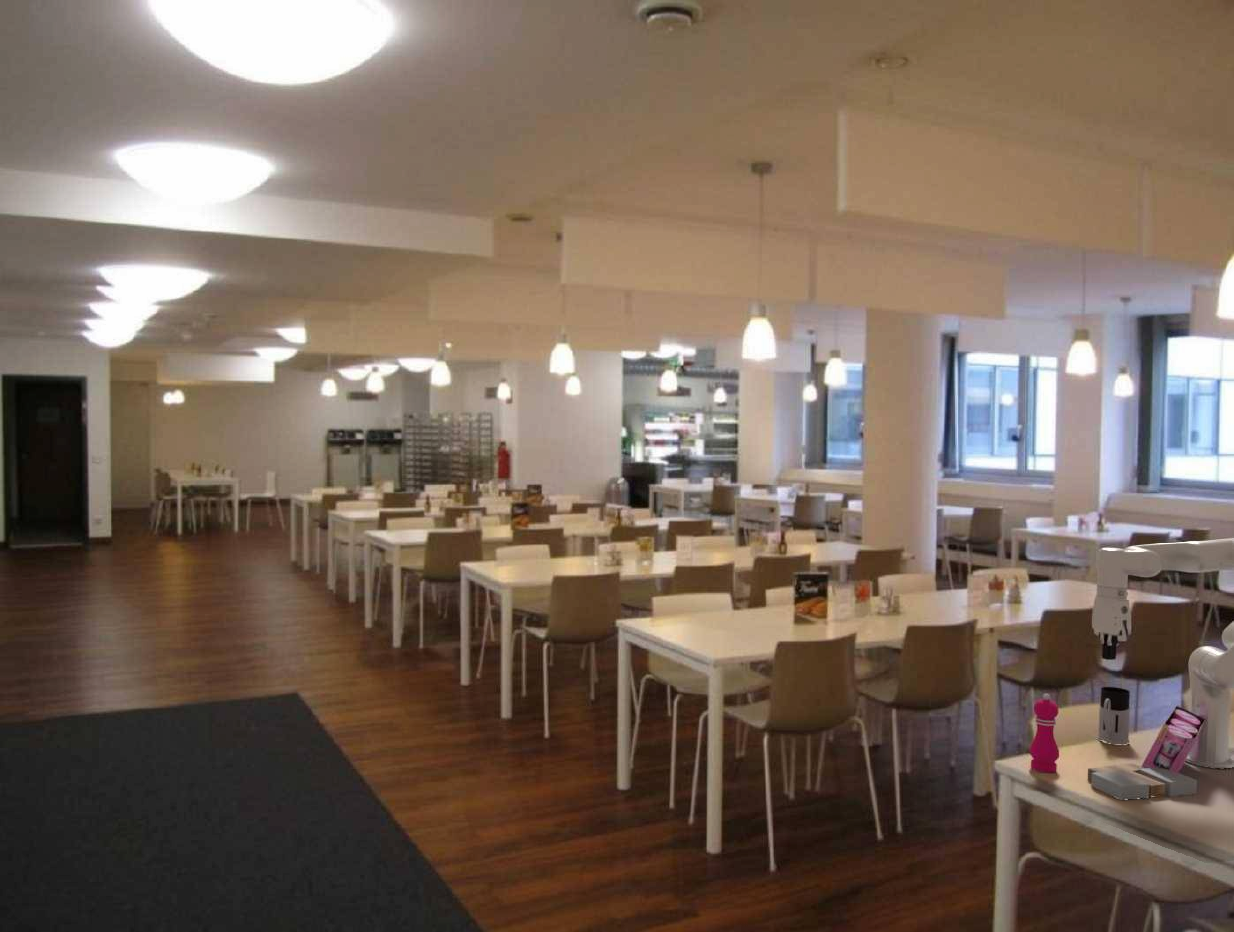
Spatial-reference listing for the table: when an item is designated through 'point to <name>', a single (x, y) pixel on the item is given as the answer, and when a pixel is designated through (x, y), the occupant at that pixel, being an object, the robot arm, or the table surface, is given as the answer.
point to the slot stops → (1142, 783)
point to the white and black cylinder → (1114, 715)
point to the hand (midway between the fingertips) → (1108, 658)
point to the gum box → (1174, 740)
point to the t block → (1133, 771)
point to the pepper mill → (1044, 736)
